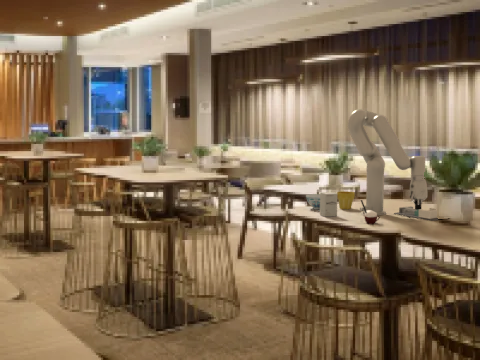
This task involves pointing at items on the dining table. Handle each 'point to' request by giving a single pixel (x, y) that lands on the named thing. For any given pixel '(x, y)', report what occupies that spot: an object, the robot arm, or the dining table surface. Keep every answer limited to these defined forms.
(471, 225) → the dining table surface
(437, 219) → the mat
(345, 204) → the plant pot
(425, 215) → the lock clasp
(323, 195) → the supplement box
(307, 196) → the chinaware
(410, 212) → the tongs fixed arm
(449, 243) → the dining table surface
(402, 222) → the dining table surface
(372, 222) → the cocoa
